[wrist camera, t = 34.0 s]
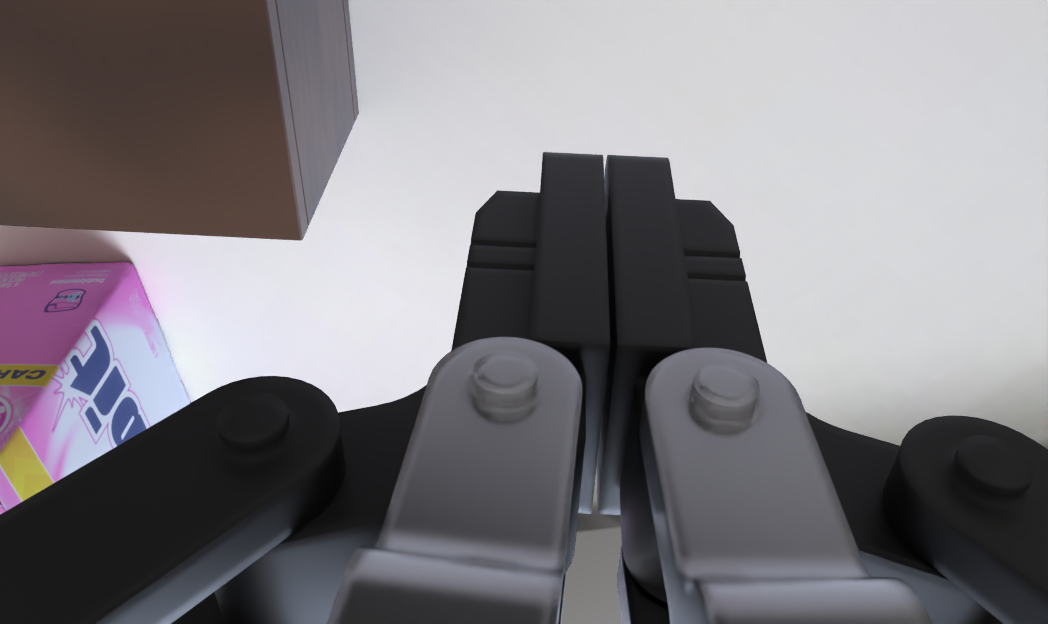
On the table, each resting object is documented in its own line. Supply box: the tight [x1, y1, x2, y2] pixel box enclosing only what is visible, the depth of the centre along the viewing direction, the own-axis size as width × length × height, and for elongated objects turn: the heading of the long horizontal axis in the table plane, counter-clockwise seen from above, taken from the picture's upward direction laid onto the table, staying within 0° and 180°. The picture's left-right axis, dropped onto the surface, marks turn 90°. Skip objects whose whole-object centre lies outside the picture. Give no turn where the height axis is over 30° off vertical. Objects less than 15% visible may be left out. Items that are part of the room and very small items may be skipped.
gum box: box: [0, 262, 190, 514], centre depth 45 cm, size 24×8×14 cm, turn 4°
